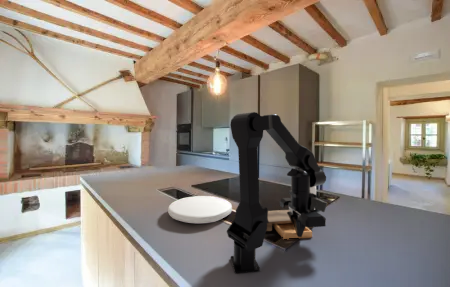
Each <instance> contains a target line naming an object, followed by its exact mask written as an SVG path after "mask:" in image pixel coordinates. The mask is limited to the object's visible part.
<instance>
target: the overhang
mask: <svg viewBox="0 0 450 287" xmlns="http://www.w3.org/2000/svg"><path fill="white" fill-rule="evenodd" d="M287 212H289V209H280V210H279V209H277V210H268V221H269V223H267V230H266V232H272V231H273V227H272V224H278V223H292V222H291V220H290V218H289V216H288V214H287ZM307 228H309V229H313V228H314V227H307Z"/></svg>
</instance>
